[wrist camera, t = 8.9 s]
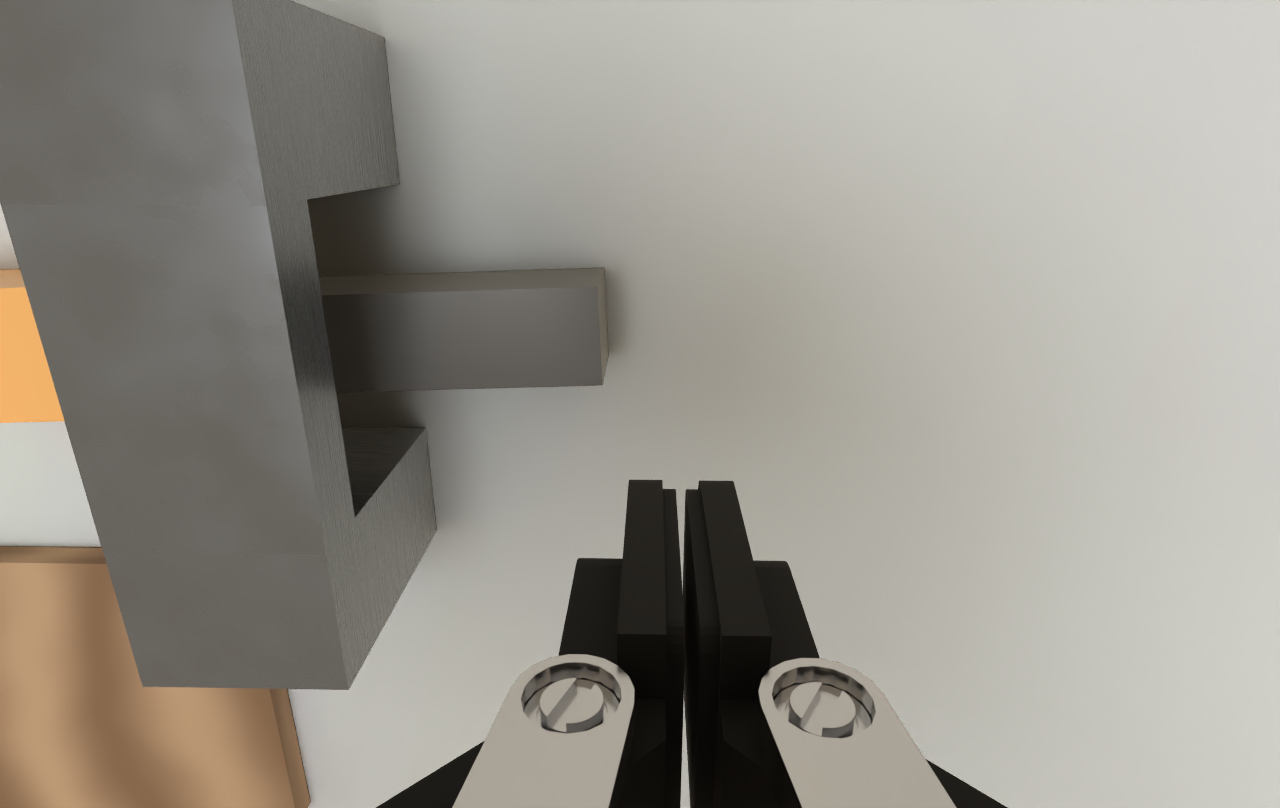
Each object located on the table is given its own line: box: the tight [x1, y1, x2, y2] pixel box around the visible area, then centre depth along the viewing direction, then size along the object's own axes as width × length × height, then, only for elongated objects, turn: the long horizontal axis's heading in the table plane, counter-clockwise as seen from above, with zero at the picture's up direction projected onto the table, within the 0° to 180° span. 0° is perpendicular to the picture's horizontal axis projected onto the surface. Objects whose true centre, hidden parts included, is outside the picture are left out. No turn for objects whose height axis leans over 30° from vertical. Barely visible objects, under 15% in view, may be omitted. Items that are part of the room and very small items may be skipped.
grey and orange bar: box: [0, 268, 609, 423], centre depth 24 cm, size 23×4×4 cm, turn 92°
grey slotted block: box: [0, 0, 437, 690], centre depth 22 cm, size 6×18×9 cm, turn 0°
